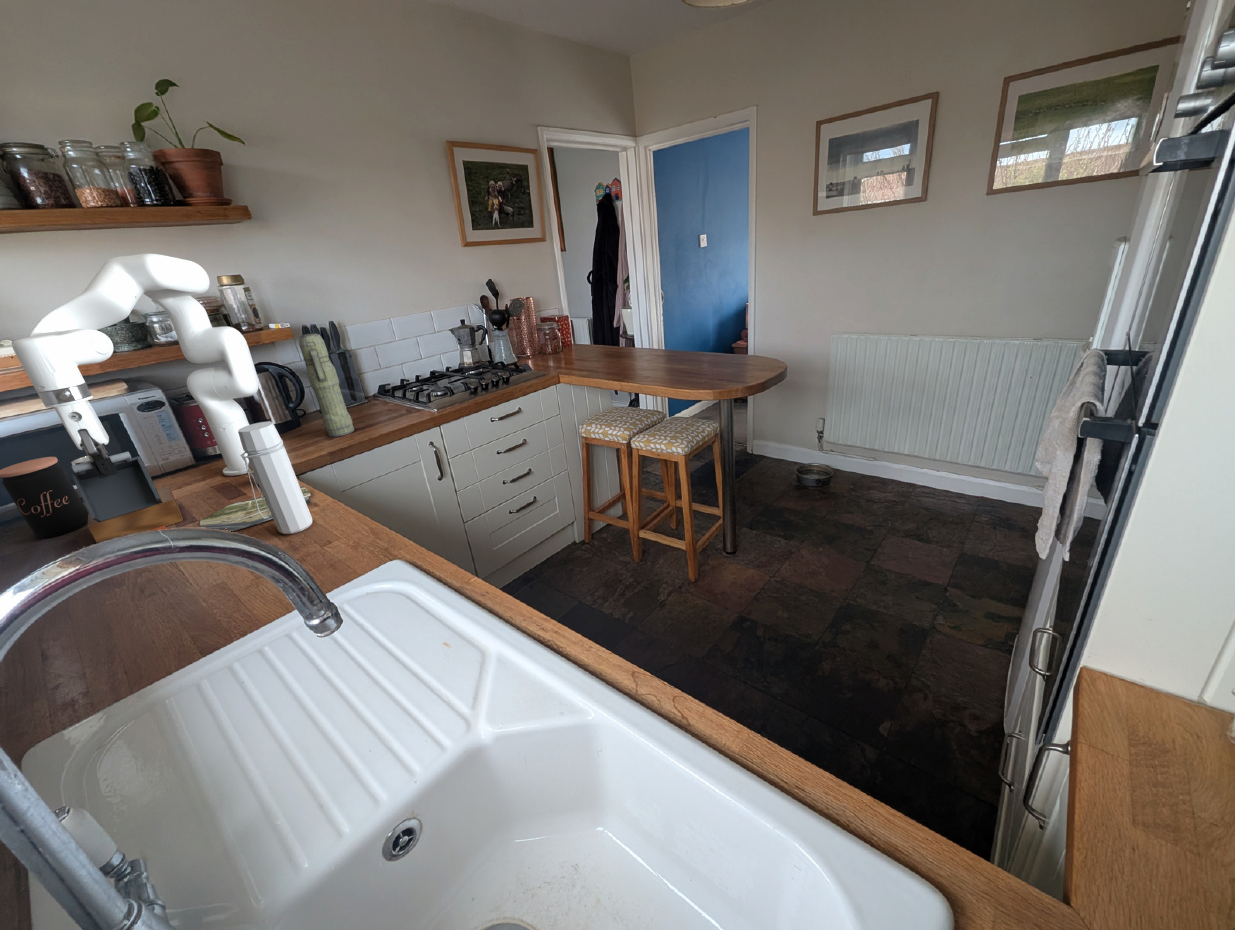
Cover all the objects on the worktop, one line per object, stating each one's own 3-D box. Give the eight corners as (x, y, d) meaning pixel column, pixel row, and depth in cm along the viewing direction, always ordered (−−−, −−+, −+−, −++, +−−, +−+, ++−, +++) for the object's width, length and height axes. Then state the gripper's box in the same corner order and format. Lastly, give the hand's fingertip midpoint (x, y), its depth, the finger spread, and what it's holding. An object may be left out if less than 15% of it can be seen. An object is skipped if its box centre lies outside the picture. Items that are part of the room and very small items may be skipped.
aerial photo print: (203, 547, 118) (200, 540, 117) (193, 522, 131) (190, 516, 130) (321, 503, 133) (319, 498, 132) (302, 485, 146) (300, 480, 145)
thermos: (330, 439, 182) (295, 338, 168) (326, 432, 191) (292, 335, 177) (357, 432, 186) (325, 333, 173) (351, 425, 196) (321, 330, 182)
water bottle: (308, 516, 126) (270, 418, 116) (318, 526, 121) (279, 424, 111) (266, 533, 121) (222, 431, 111) (274, 543, 115) (229, 438, 105)
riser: (178, 505, 142) (168, 485, 139) (183, 520, 132) (172, 499, 130) (100, 529, 132) (88, 509, 130) (100, 548, 123) (87, 526, 120)
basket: (142, 460, 128) (134, 449, 120) (162, 502, 129) (156, 494, 120) (76, 477, 121) (63, 467, 112) (98, 522, 121) (86, 515, 113)
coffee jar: (28, 544, 129) (-15, 478, 122) (47, 526, 138) (8, 464, 131) (83, 530, 133) (45, 465, 126) (98, 514, 142) (64, 453, 135)
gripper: (88, 396, 107) (131, 477, 115) (90, 386, 118) (129, 461, 126) (38, 406, 103) (85, 489, 110) (45, 395, 114) (87, 472, 121)
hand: (108, 474), depth 118 cm, fingers closed on basket
